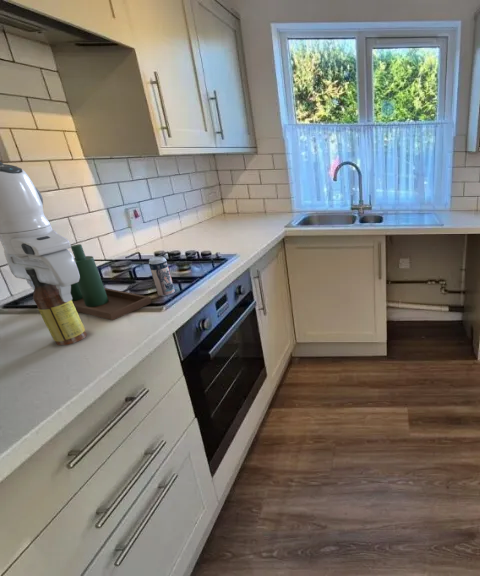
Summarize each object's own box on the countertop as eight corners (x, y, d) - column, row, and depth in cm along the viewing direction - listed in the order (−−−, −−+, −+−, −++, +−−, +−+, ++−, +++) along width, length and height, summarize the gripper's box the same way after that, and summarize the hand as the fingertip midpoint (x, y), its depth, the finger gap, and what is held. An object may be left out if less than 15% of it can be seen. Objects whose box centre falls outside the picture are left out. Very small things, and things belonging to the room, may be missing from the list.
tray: (44, 305, 110) (41, 297, 109) (86, 290, 119) (83, 283, 118) (112, 322, 98) (109, 313, 97) (152, 304, 108) (149, 296, 107)
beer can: (168, 297, 113) (157, 261, 108) (154, 296, 113) (143, 260, 109) (178, 291, 117) (169, 256, 112) (165, 290, 118) (155, 255, 113)
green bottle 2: (81, 305, 107) (58, 247, 100) (101, 298, 112) (80, 242, 105) (93, 308, 105) (70, 249, 98) (112, 300, 110) (92, 243, 103)
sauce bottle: (91, 332, 93) (62, 259, 85) (82, 344, 88) (51, 267, 80) (60, 337, 91) (28, 263, 83) (49, 350, 86) (13, 272, 78)
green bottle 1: (59, 300, 111) (35, 243, 104) (79, 293, 116) (58, 239, 109) (70, 303, 109) (47, 245, 102) (90, 295, 114) (69, 240, 107)
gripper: (-14, 241, 81) (13, 297, 86) (39, 249, 73) (65, 309, 79) (21, 234, 86) (44, 287, 91) (73, 240, 79) (96, 298, 84)
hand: (54, 298), depth 85 cm, fingers open, 8 cm apart
